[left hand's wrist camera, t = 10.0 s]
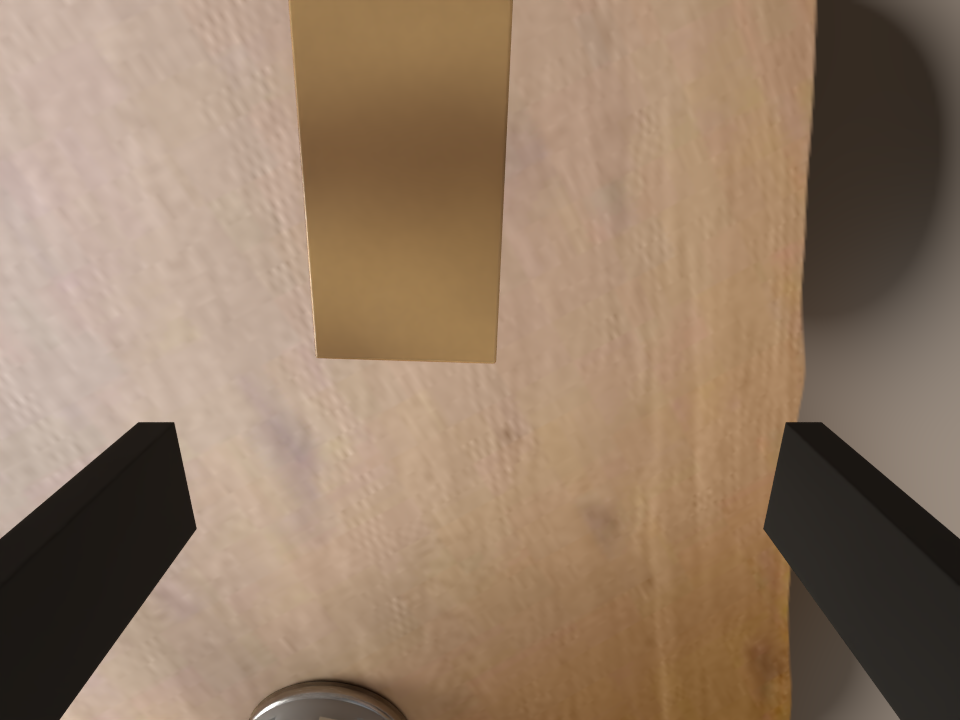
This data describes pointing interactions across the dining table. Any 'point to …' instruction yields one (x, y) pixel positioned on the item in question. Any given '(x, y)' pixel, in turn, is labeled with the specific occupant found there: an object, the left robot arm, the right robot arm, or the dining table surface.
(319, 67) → the bar
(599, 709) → the dining table surface
